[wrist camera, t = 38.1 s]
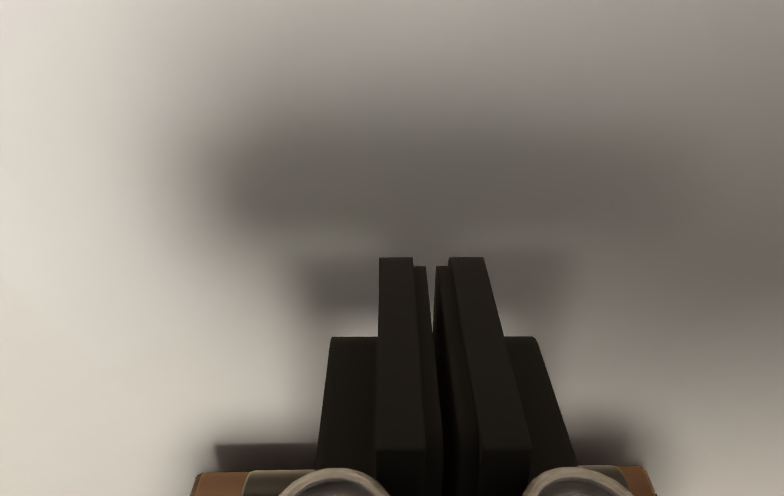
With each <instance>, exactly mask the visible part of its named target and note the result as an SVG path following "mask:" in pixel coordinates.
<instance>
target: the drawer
mask: <svg viewBox="0 0 784 496" xmlns="http://www.w3.org/2000/svg"><path fill="white" fill-rule="evenodd" d="M578 467H580V468H585V469H589V470H593V471H597V472H599V473H602V474H604V475H606V476H608V477H610V478H612V479H614V480H616V481H617V482H619V483H620V484H621V485H622V486H624V487H625V488H626V489H627V490H629V491H630V492H631V493H632V494H633V495H634V496H655V493H654V491H653V489H652V486H651V484H650V482H649V479H648V477H647V475H646V472H645V470H644V468H643V467H642V466H613V465H583V466H578ZM314 471H315V470H254V471H252V472H207V473H202V475H201V478H200V481H199V484H198V487H197V490H196V493H195V496H279V495H280V494H281V493H282V492H283V491H284V490H285V489H286V488H287V487H288V486H289V485H290V484H291V483H292V482H294V481H295V480H297V479H299V478H301V477H303V476H304V475H306V474H308V473H311V472H314Z"/></svg>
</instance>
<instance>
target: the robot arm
mask: <svg viewBox="0 0 784 496" xmlns="http://www.w3.org/2000/svg"><path fill="white" fill-rule="evenodd" d="M279 496H634V495H633V494H632V493H631V492H630V491H629V490H627V489H626V488H625V487H624V486H622V485H621V484H620V483H619V482H617V481H616V480H614V479H612V478H610V477H608V476H606V475H604V474H602V473H599V472H597V471H593V470H589V469H585V468H580V467H578V464H577V461H576V458H575V455H574V452H573V449H572V446H571V443H570V440H569V436H568V433H567V430H566V427H565V424H564V421H563V418H562V415H561V412H560V409H559V406H558V403H557V400H556V397H555V394H554V391H553V388H552V385H551V382H550V379H549V376H548V373H547V370H546V367H545V363H544V360H543V357H542V354H541V351H540V348H539V345H538V343H537V341H536V339H535V338H534V337H533V336H520V337H504V334H503V331H502V327H501V323H500V319H499V315H498V311H497V307H496V304H495V300H494V296H493V292H492V288H491V284H490V280H489V277H488V273H487V269H486V265H485V261H484V258H482V257H449V261H448V266H436V274H435V295H434V316H433V332H432V322H431V313H430V303H429V293H428V284H427V274H426V267H425V266H413V258H412V257H388V258H379V309H378V337H332V338H331V342H330V348H329V356H328V365H327V373H326V381H325V389H324V397H323V406H322V414H321V422H320V430H319V439H318V447H317V455H316V463H315V471H314V472H311V473H308V474H306V475H304V476H303V477H301V478H299V479H297V480H295V481H294V482H292V483H291V484H290V485H289V486H288V487H287V488H286V489H285V490H284V491H283V492H282V493H281V494H280V495H279Z"/></svg>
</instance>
